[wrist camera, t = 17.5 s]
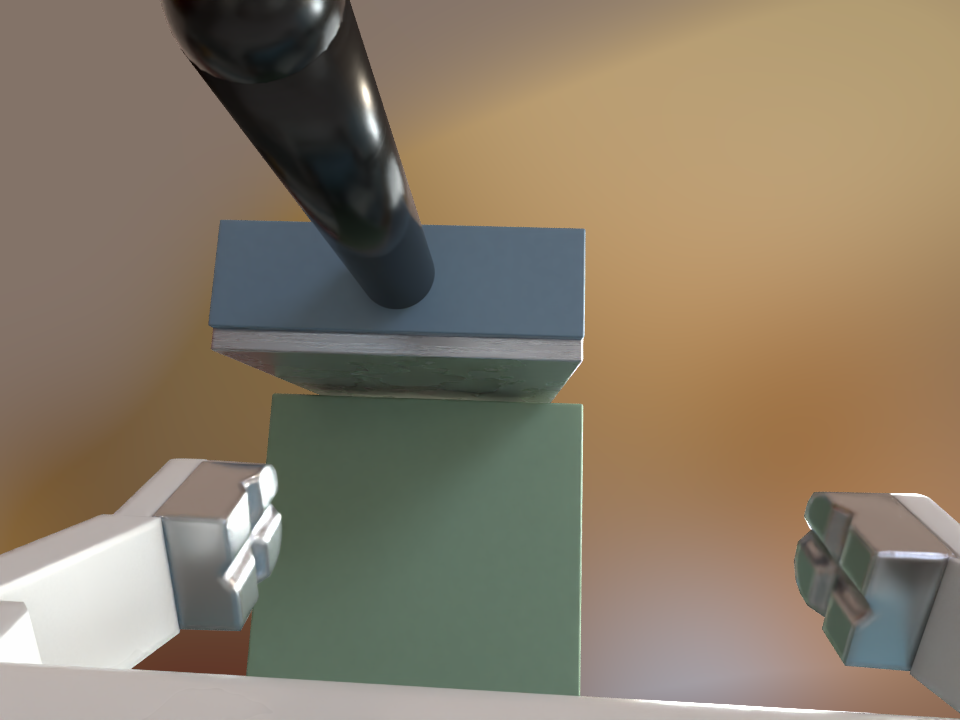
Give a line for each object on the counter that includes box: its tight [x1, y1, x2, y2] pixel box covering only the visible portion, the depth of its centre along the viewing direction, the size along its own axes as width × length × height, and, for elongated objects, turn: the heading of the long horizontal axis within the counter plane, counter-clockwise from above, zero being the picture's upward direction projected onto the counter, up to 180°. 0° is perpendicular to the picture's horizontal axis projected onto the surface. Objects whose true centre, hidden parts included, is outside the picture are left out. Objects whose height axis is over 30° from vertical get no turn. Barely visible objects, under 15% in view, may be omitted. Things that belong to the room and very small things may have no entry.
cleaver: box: [161, 0, 585, 403], centre depth 18 cm, size 23×10×4 cm, turn 178°
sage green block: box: [246, 394, 583, 696], centre depth 29 cm, size 14×12×26 cm
